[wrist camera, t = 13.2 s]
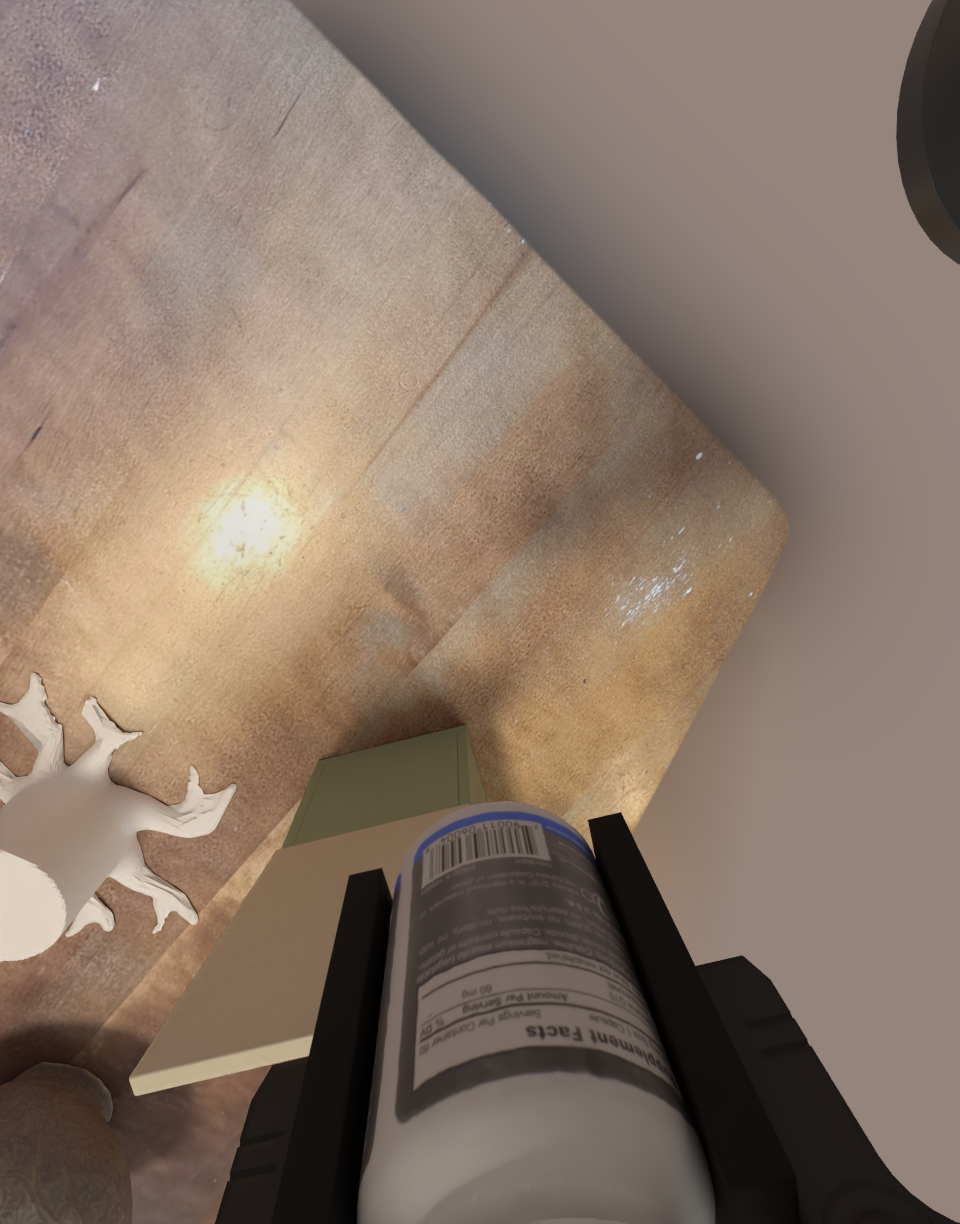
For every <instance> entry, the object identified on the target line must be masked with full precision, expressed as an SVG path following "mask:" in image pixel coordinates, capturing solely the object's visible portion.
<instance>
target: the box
mask: <svg viewBox="0 0 960 1224" xmlns="http://www.w3.org/2000/svg"><path fill="white" fill-rule="evenodd" d="M480 803H488V802H487V798H486V794H485V791H484V787H483V784H482V780H481V776H480V773H479V769H478V766H477V762H476V758H475V755H474V751H473V748H472V744H471V740H470V737H469V733H468V730H467V726H466V725H462V726H458V727H454V728H450V729H446V730H442V731H438V732H434V733H430V734H425V735H421V736H417V737H413V738H409V739H405V740H401V741H397V742H393V743H389V744H385V745H381V746H376V747H372V748H368V749H364V750H360V751H356V752H352V753H348V754H344V755H340V756H336V757H331V758H327V759H323V760H319V761H318V762H317V765H316V767H315V769H314V772H313V774H312V776H311V779H310V781H309V784H308V786H307V788H306V791H305V793H304V795H303V798H302V800H301V803H300V805H299V807H298V810H297V812H296V815H295V817H294V819H293V822H292V824H291V827H290V829H289V831H288V834H287V836H286V839H285V841H284V843H283V846H282V848H281V849H283V848H287V847H291V846H295V845H299V844H304V843H308V842H312V841H316V840H320V839H324V838H328V837H332V836H337V835H341V834H345V833H349V832H353V831H357V830H361V829H365V828H370V827H374V826H378V825H382V824H386V823H390V822H394V821H398V820H403V819H407V818H411V817H415V816H419V815H423V814H427V813H431V812H436V811H440V810H444V809H448V808H452V807H456V806H460V805H464V804H470V806H471V805H475V804H480Z"/></svg>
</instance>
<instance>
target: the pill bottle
mask: <svg viewBox="0 0 960 1224" xmlns="http://www.w3.org/2000/svg"><path fill="white" fill-rule="evenodd" d="M357 1224H715V1195H714V1189H713V1183H712V1179H711V1174H710V1170H709V1166H708V1162H707V1158H706V1155H705V1152H704V1149H703V1145H702V1141H701V1138H700V1135H699V1132H698V1129H697V1126H696V1123H695V1121H694V1119H693V1116H692V1114H691V1111H690V1109H689V1106H688V1104H687V1101H686V1099H685V1097H684V1094H683V1092H682V1089H681V1087H680V1084H679V1081H678V1078H677V1076H676V1073H675V1071H674V1069H673V1068H672V1066H671V1064H670V1062H669V1059H668V1055H667V1052H666V1049H665V1047H664V1044H663V1042H662V1039H661V1036H660V1033H659V1030H658V1028H657V1026H656V1023H655V1020H654V1018H653V1014H652V1010H651V1007H650V1004H649V1001H648V999H647V997H646V994H645V992H644V989H643V986H642V983H641V980H640V977H639V974H638V972H637V969H636V966H635V963H634V961H633V958H632V956H631V953H630V951H629V948H628V945H627V942H626V939H625V937H624V934H623V931H622V929H621V926H620V924H619V921H618V919H617V915H616V912H615V909H614V907H613V904H612V901H611V899H610V897H609V894H608V891H607V889H606V886H605V883H604V880H603V877H602V875H601V872H600V869H599V867H598V864H597V862H596V859H595V857H594V855H593V853H592V851H591V849H590V847H589V845H588V844H587V842H586V841H585V839H584V838H583V837H582V835H581V834H580V833H579V832H578V831H577V830H576V829H575V828H574V827H572V826H571V825H570V824H568V823H567V822H566V821H565V820H563V819H561V818H560V817H558V816H556V815H554V814H553V813H551V812H549V811H546V810H544V809H541V808H538V807H536V806H533V805H529V804H525V803H520V802H513V801H499V802H488V803H480V804H475V805H471V806H468V807H465V808H462V809H459V810H457V811H455V812H453V813H450V814H448V815H446V816H445V817H443V818H442V819H440V820H439V821H438V822H436V823H435V824H434V825H432V826H431V827H430V828H428V829H427V830H426V831H425V832H424V833H423V834H422V835H421V836H420V837H419V838H418V839H417V841H416V842H415V843H414V844H413V846H412V847H411V848H410V849H409V851H408V853H407V854H406V856H405V858H404V860H403V862H402V864H401V866H400V869H399V872H398V875H397V879H396V884H395V889H394V895H393V902H392V911H391V916H390V928H389V938H388V946H387V954H386V964H385V971H384V980H383V990H382V996H381V1003H380V1015H379V1024H378V1034H377V1041H376V1051H375V1059H374V1067H373V1077H372V1085H371V1092H370V1100H369V1109H368V1118H367V1126H366V1133H365V1141H364V1147H363V1157H362V1164H361V1171H360V1180H359V1189H358V1201H357Z"/></svg>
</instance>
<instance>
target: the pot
mask: <svg viewBox="0 0 960 1224" xmlns="http://www.w3.org/2000/svg"><path fill="white" fill-rule="evenodd" d="M112 1111H113V1103H112V1098H111V1093H110V1092H109V1090H108V1089H107V1088H106V1086H105V1085H104V1084H103V1082H102V1081H101V1080H100V1079H99V1078H98V1077H96V1076H95V1075H93V1074H92V1073H90V1072H89V1071H87V1070H86V1069H83V1068H79V1067H75V1066H71V1065H68V1064H60V1063H49V1062H41V1063H39V1064H37V1065H35V1066H33V1067H31V1068H29V1069H28V1070H27V1071H25V1072H24V1073H22V1074H21V1075H19V1076H18V1077H16V1078H15V1079H13V1080H12V1081H10V1082H8V1083H5V1084H3V1085H0V1224H131V1219H132V1189H131V1181H130V1173H129V1168H128V1164H127V1161H126V1158H125V1156H124V1153H123V1151H122V1148H121V1146H120V1143H119V1141H118V1139H117V1138H116V1136H115V1135H114V1133H113V1131H112V1129H111V1127H110V1125H109V1124H108V1122H109V1121H110V1119H111V1117H112Z"/></svg>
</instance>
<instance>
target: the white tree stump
mask: <svg viewBox="0 0 960 1224" xmlns="http://www.w3.org/2000/svg"><path fill="white" fill-rule="evenodd" d="M41 680H42V678H41V677H40V676H39V675H37V674H36V673H32V674H31V675H30V688H29V690H28V692H27V693H26V694H25V695H24V696H23V697H22V698H21V700H20V701H19V702H18V703H16V704H13V705H8V704H6V703H2V702H0V712H2V713H3V714H5V715H7V716H9V718H10V719H11V720H12V721H13V722H14V723H15V724H16V726H17V727H18V728H19V729H20V730H21V731H22V732H23V734H24V735H25V736H26V737H27V738H28V739H29V741H30V742H31V743H32V744H33V745H34V746H35V747H36V749H37V750H38V751H39V754H38V756H37V758H36V761H35V764H34V767H33V770H32V772H31V773H30V774H29V775H28V776H21V777H16V776H15V775H14V774H13V773H12V772H11V771H10V770H9V769H8V768H7V767H6V766H5V765H4V764H3V763H2V762H1V761H0V799H1V800H2V801H3V802H4V803H5V805H3V806H2V807H1V808H0V962H2V961H6V960H7V961H12V960H14V961H17V960H19V959H20V960H23V959H25V958H26V959H28V958H29V957H31V956H32V957H33V956H35V955H36V954H40V953H42V952H43V951H45V950H47V949H48V948H49V947H50V946H51V945H53V944H54V943H55V942H56V941H57V940H58V938H59V937H60V936H61V934H62V933H63V932H64V931H65V929H66V928H67V927H68V926H69V924H70V923H71V922H72V921H73V919H74V918H75V919H74V921H73V924H72V926H71V928H70V929H69V931H67V932H66V933H65V935H66V937H69V936H73V935H74V934H76V933H78V932H79V931H80V930H82V929H83V928H84V926H85V925H87V924H89V923H93V922H96V923H99V924H100V925H101V927H102V928H103V930H104V931H106V932H108V931H111V930H112V929H113V927H114V925H115V922H114V916H113V913H112V912H111V911H110V910H109V909H108V908H107V907H106V906H105V905H104V904H103V903H102V902H101V901H100V900H99V899H98V897H97V895H96V894H95V892H96V890H97V889H98V888H99V887H100V885H101V884H102V883H103V882H104V880H105V879H106V878H107V877H111V878H113V879H115V880H117V881H118V882H120V883H121V884H123V885H124V886H126V887H128V888H130V889H132V890H134V891H137V892H140V893H142V894H145V895H149V896H151V897H152V898H153V906H154V908H155V911H156V914H157V919H158V920H157V922H158V924H157V925H156V926H155V928H154V930H153V932H152V933H156V932H157V931H161V930H162V926H163V925H164V923H165V920H164V919H165V918H166V917H167V916H168V914H169V913H170V912H171V911H177V912H178V914H179V915H181V916H182V917H183V918H185V919H186V920H187V921H188V922H190V923H191V924H192V925H195V924H197V922H198V921H199V920H198V916H197V913H196V912H195V911H194V909H193V907H192V906H191V904H190V902H189V900H188V899H187V897H186V895H185V894H184V893H182V892H181V891H180V890H178V889H176V888H175V887H174V886H173V885H171V884H170V883H168V882H166V881H165V880H163V879H162V878H160V877H159V876H157V875H156V874H154V873H153V872H151V871H150V869H149V868H148V867H147V866H146V865H145V863H144V858H143V854H142V850H141V847H140V844H139V842H138V839H137V831H141V830H155V831H160V832H164V833H167V834H171V835H175V836H180V837H186V838H193V837H198V836H203V835H208V834H209V833H211V832H212V831H214V830H215V829H216V827H217V825H218V823H219V821H220V819H221V818H222V816H223V814H224V812H225V810H226V808H227V806H228V804H229V802H230V800H231V798H232V797H233V795H234V793H235V791H236V787H237V786H236V784H230V785H229V786H228V787H227V788H225V789H224V790H223V791H220V792H218V793H215V794H207V795H205V794H204V793H203V791H202V789H201V788H200V787H199V786H198V783H199V780H198V778H199V776H198V774H197V771H196V769H194V768H195V767H194V766H192V765H190V767H189V770H190V772H191V775H190V776H189V777H188V778H189V779H190V780H191V781H190V782H188V787H187V788H186V789H187V790H188V792H187V794H186V795H185V797H186V799H185V801H183V802H182V803H180V804H176V805H171V806H166V805H165V804H163V803H161V802H159V801H158V800H156V799H154V798H153V797H151V796H149V795H146V794H143V793H140V792H137V791H134V790H132V789H130V788H127V787H124V786H120V785H116V784H114V783H113V782H112V781H111V780H110V778H109V775H108V767H109V765H110V762H111V760H112V757H113V756H112V754H111V753H113V750H114V749H118V748H119V747H120V745H122V744H123V743H125V742H126V741H131V740H133V739H135V738H136V737H137V735H142V732H132V733H127V732H124V733H123V732H122V731H121V730H120V729H118V728H116V726H115V723H113V722H111V721H109V719H108V717H107V716H106V715H105V713H104V712H103V711H102V709H101V708H100V707H99V705H98V704H97V699H96V698H94V697H92V696H91V697H90V699H89V700H86V702H85V705H84V707H83V710H82V712H81V713H82V715H83V716H84V718H85V719H86V720H87V722H88V723H89V724H90V726H91V727H92V729H93V730H94V731H95V735H96V742H95V743H94V744H93V746H92V747H91V748H90V749H89V750H88V751H86V752H85V753H84V754H83V755H82V756H81V757H80V758H79V759H78V760H77V761H75V762H74V763H73V764H72V765H71V766H68V765H66V764H65V763H64V756H63V730H62V725H61V724H57V723H56V722H55V717H54V716H52V715H51V714H50V710H49V709H48V708H47V706H46V705H45V704H44V702H45V700H46V699H47V698H48V697H47V695H46V693H45V691H44V688H45V687H44V686H42V685H41Z"/></svg>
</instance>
